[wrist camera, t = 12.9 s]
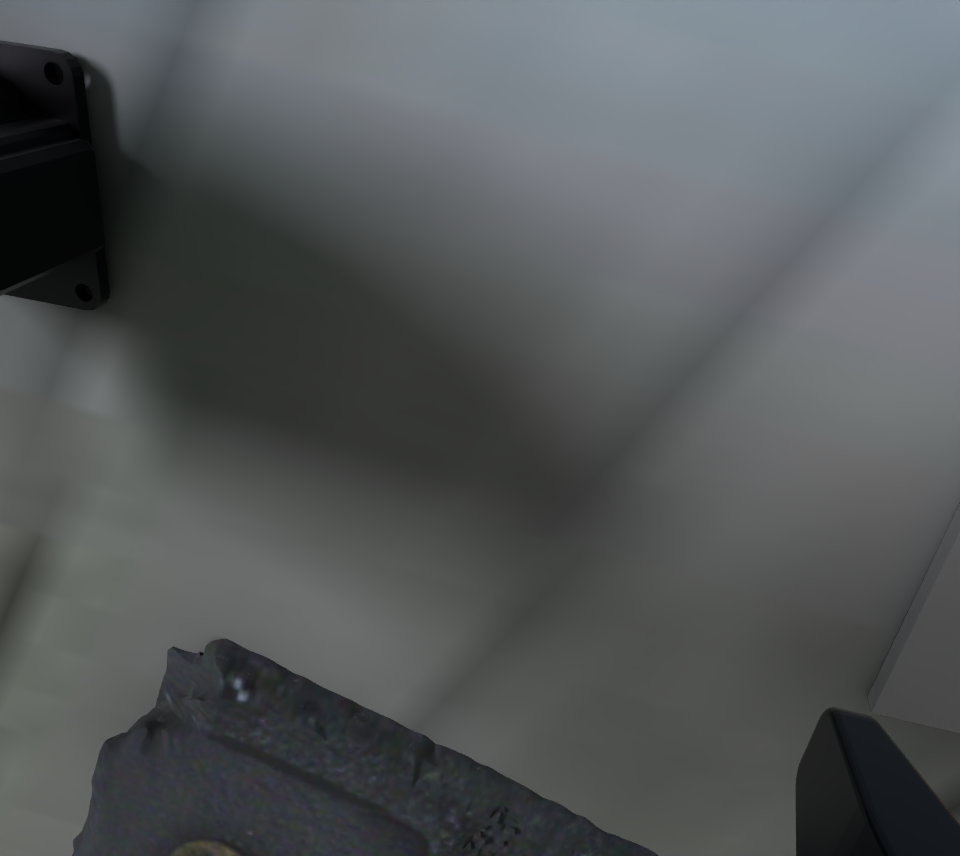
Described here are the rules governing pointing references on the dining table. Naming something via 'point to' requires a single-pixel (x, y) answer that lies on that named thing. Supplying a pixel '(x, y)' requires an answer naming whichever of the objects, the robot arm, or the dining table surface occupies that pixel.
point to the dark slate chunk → (304, 778)
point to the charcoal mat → (927, 648)
